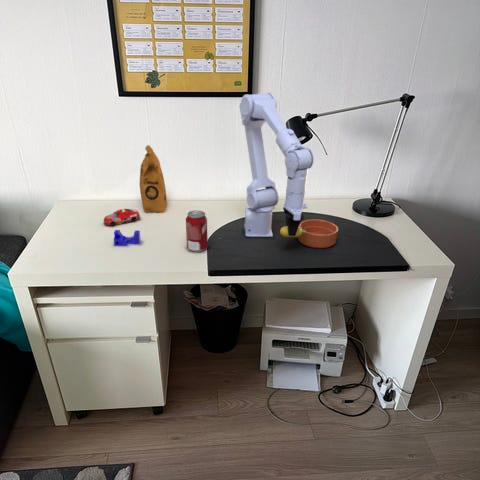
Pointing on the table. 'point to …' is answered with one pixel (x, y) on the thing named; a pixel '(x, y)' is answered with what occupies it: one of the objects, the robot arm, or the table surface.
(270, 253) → the table surface
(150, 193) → the coffee package
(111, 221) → the race car
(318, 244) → the basin
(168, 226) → the table surface
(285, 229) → the yellow squeeze bottle
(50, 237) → the table surface
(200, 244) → the soda can
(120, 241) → the cable holder
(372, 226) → the table surface
